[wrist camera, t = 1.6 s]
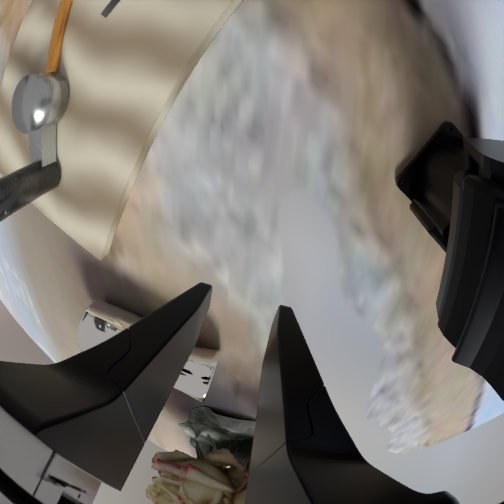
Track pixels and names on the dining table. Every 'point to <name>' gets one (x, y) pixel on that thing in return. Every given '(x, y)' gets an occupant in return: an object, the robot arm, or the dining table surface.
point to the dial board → (105, 98)
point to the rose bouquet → (206, 463)
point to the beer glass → (117, 319)
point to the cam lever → (38, 126)
